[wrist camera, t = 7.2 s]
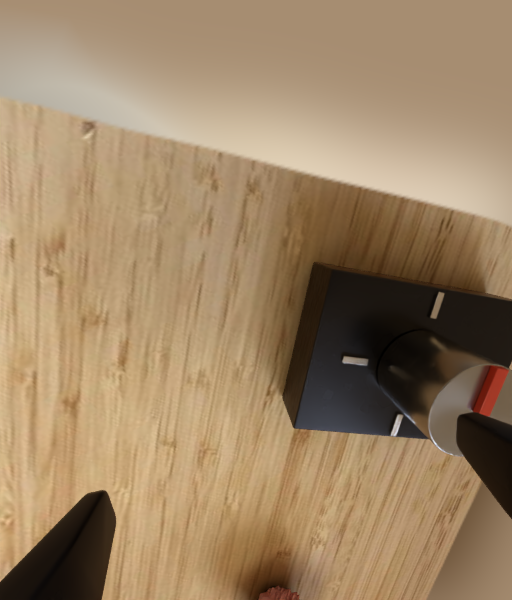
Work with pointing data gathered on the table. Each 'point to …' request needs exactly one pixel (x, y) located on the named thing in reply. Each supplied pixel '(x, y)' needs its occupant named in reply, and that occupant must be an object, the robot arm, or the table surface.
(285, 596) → the flower
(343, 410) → the panel
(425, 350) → the dial
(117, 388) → the table surface
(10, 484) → the table surface
